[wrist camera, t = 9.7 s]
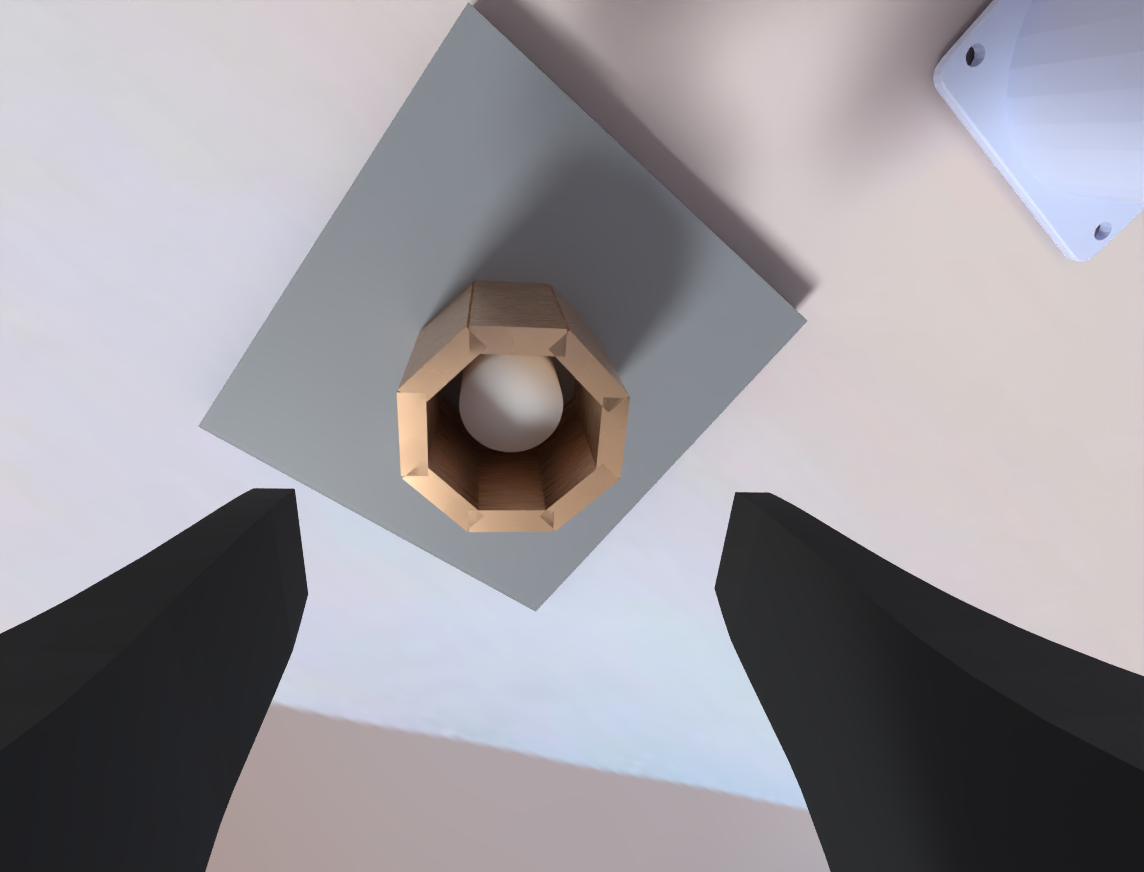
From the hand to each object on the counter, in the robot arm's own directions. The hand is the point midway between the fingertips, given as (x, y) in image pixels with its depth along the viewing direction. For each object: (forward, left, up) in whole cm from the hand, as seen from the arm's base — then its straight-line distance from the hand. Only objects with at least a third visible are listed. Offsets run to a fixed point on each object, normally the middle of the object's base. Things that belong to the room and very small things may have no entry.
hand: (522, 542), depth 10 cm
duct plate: (0, 0, -9) cm, 9 cm away
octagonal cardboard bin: (0, 0, -8) cm, 8 cm away
